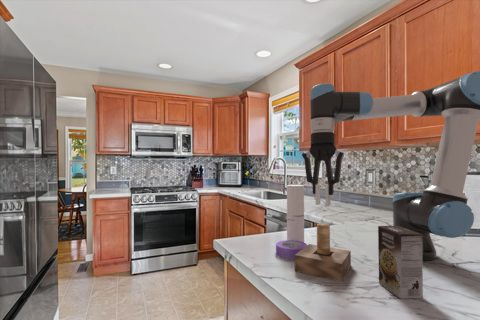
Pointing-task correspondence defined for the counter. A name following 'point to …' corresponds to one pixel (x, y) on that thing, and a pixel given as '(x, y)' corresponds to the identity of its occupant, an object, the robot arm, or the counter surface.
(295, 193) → the cylindrical container
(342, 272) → the seat block
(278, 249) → the masking tape
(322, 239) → the peg
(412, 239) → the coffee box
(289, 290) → the counter surface
